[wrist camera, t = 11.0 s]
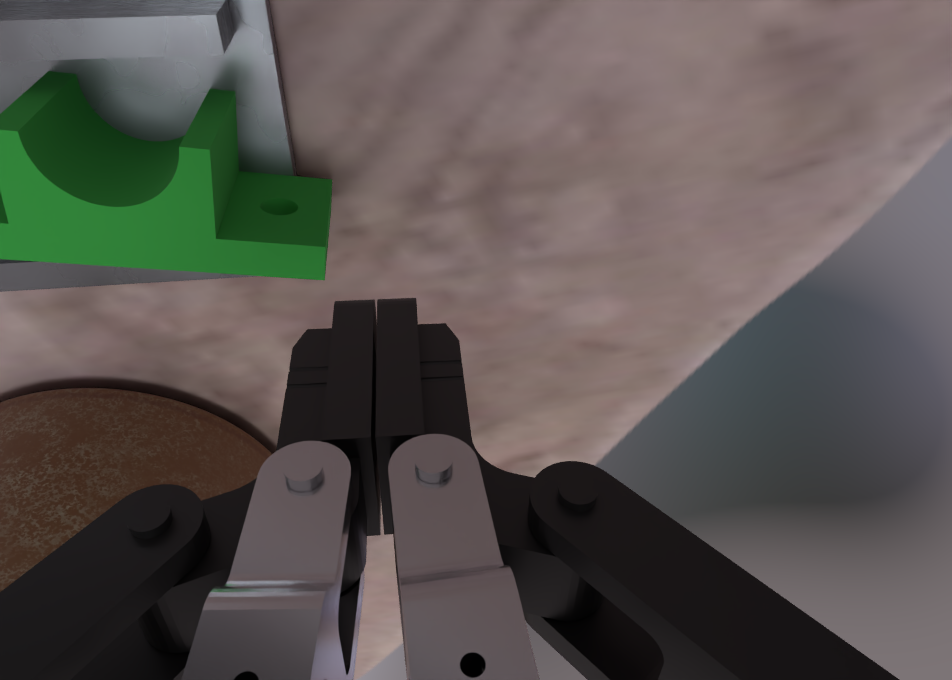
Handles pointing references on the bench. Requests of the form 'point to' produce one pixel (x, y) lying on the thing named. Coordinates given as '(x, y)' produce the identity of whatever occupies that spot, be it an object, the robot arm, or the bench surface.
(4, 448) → the planter
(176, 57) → the steel channel
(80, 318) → the bench surface
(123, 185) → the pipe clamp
